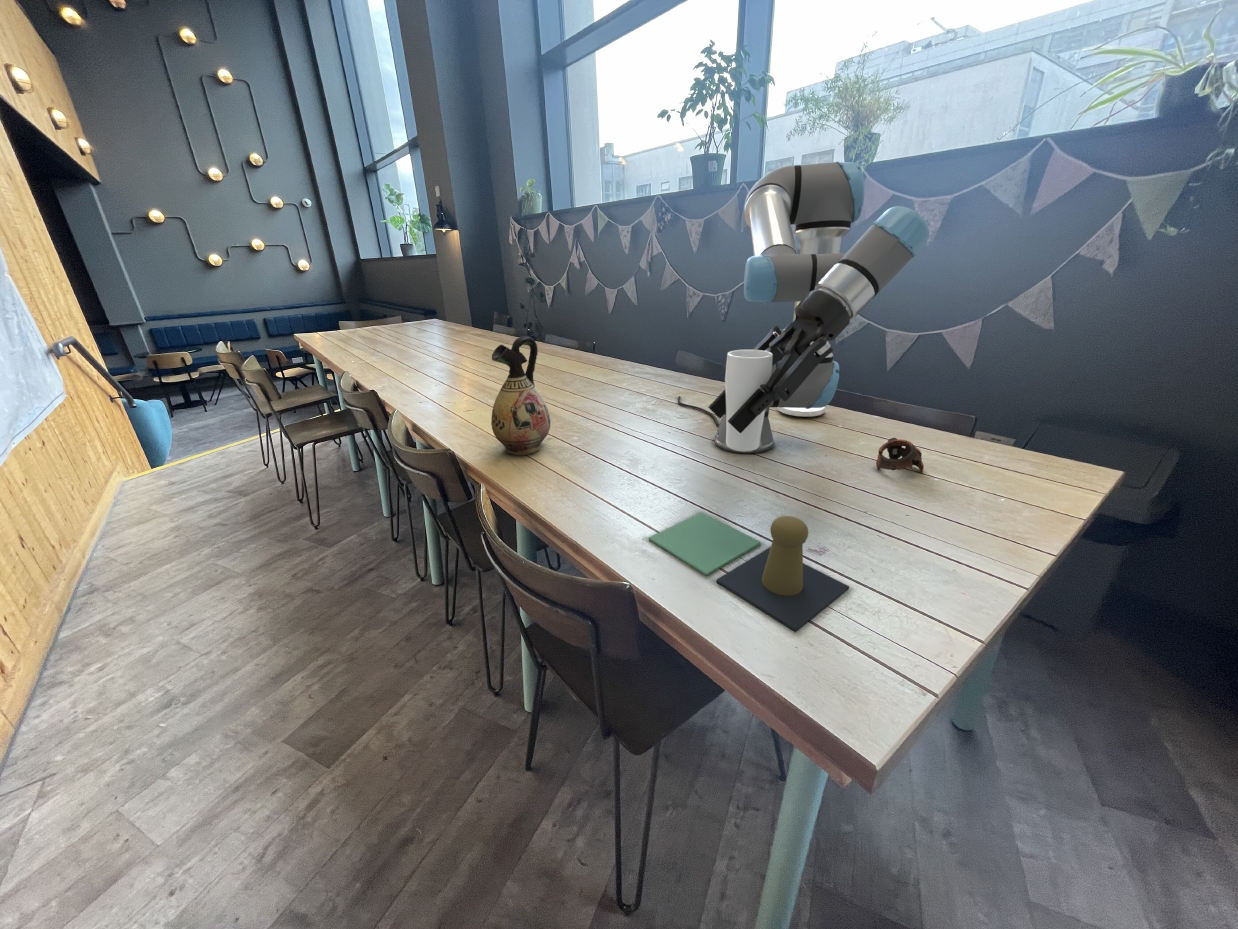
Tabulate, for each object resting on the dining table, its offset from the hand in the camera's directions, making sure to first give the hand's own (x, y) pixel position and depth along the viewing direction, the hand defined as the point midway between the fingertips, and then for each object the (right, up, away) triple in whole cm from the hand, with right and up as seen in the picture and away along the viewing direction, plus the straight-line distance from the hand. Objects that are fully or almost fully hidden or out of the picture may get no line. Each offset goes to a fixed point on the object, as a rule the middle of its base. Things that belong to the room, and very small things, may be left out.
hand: (723, 419), depth 73 cm
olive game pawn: (+9, -25, -1) cm, 27 cm away
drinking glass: (+4, -4, +3) cm, 6 cm away
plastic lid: (+42, +9, +77) cm, 88 cm away
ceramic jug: (-42, -3, +55) cm, 69 cm away
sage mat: (-1, -21, +11) cm, 23 cm away
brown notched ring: (+49, -8, +36) cm, 61 cm away
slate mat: (+9, -26, -1) cm, 27 cm away
